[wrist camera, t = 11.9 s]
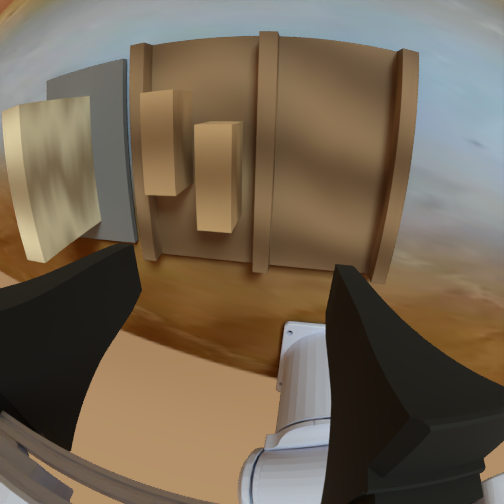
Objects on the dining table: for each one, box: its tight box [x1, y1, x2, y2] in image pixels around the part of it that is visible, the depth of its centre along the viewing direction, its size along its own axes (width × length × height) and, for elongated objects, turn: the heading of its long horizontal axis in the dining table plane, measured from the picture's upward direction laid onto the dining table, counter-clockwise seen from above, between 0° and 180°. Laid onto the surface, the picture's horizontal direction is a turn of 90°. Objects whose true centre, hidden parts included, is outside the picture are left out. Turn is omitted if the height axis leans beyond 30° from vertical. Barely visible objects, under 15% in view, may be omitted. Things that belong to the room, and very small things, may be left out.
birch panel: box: [2, 96, 101, 263], centre depth 17 cm, size 10×2×7 cm, turn 178°
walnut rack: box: [130, 31, 419, 284], centre depth 17 cm, size 15×17×2 cm
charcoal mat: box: [47, 59, 138, 243], centre depth 20 cm, size 14×8×1 cm, turn 178°
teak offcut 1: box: [140, 89, 194, 196], centre depth 16 cm, size 6×2×3 cm, turn 178°
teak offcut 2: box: [194, 121, 243, 233], centre depth 17 cm, size 6×2×3 cm, turn 178°
